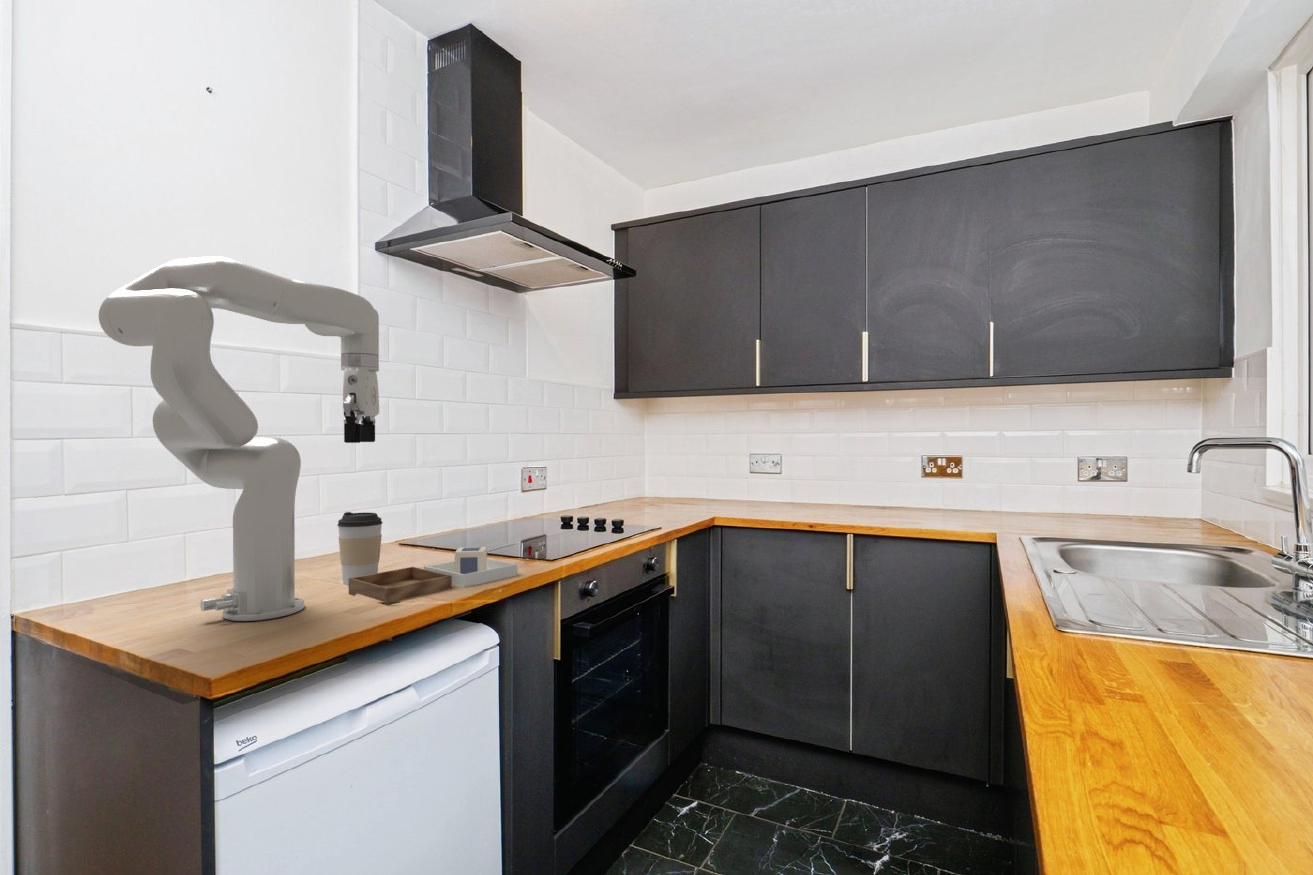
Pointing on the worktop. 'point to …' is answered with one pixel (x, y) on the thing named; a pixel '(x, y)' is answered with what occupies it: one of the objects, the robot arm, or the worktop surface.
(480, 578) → the grey tray
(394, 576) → the walnut tray
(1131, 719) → the worktop surface
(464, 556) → the letter cube
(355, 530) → the coffee cup
